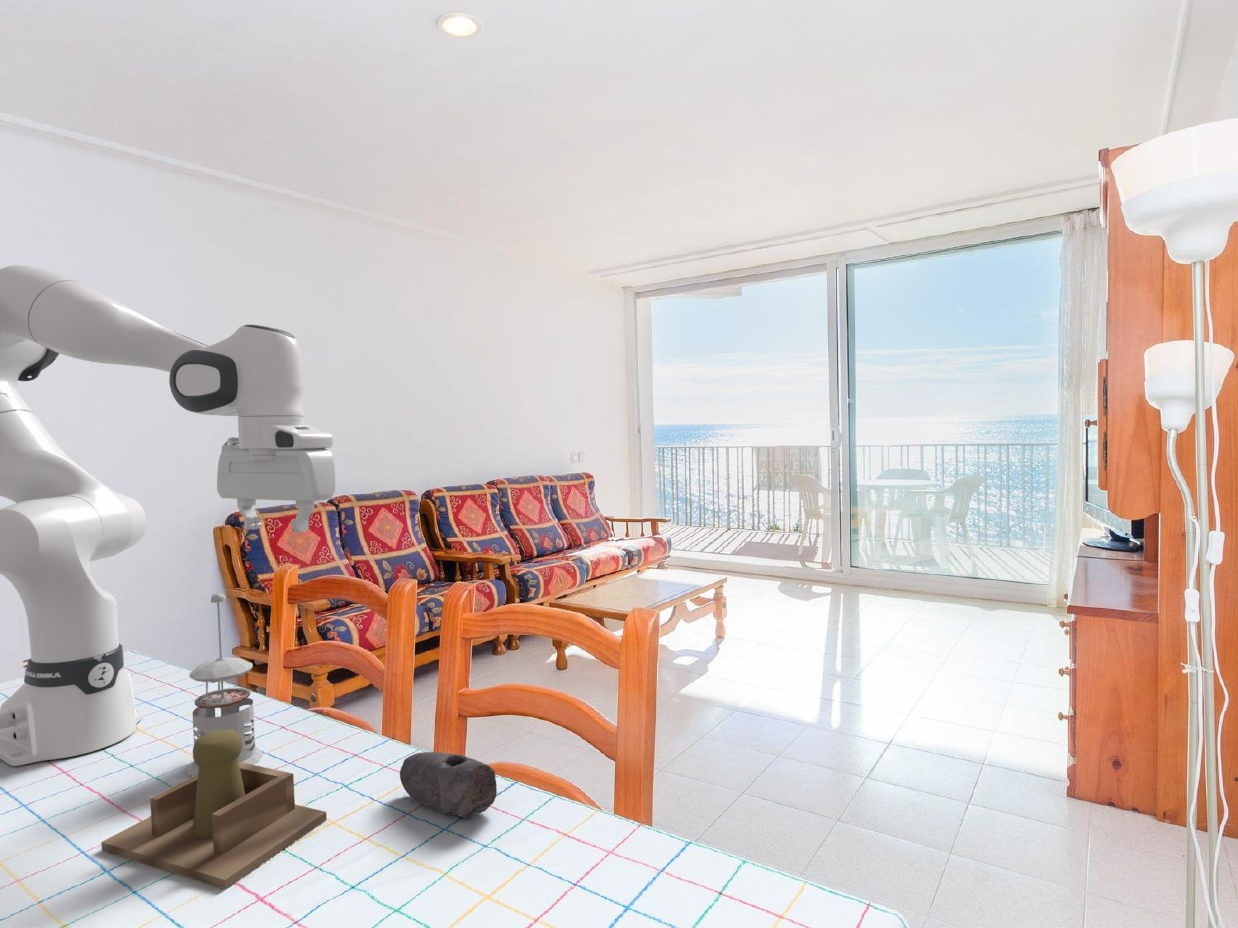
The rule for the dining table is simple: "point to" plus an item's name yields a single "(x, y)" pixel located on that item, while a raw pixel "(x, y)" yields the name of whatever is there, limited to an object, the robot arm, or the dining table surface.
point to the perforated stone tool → (449, 783)
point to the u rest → (219, 829)
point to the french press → (224, 702)
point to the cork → (216, 777)
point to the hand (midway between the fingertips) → (276, 530)
